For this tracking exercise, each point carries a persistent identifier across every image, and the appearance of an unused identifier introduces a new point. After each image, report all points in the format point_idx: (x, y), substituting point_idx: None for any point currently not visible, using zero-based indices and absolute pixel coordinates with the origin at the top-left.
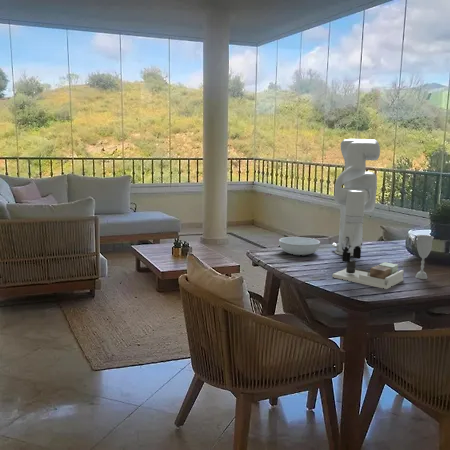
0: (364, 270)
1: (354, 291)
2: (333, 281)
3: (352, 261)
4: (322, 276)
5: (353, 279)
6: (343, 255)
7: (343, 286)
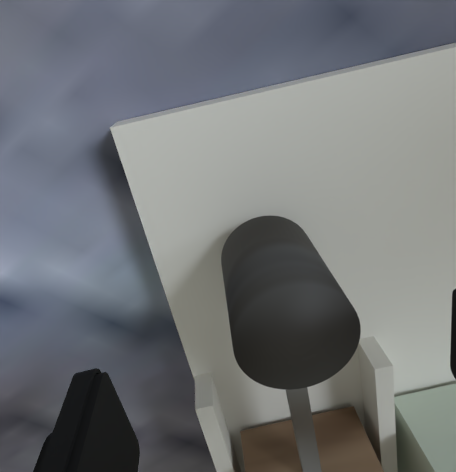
0: (291, 416)
1: (8, 452)
2: (25, 226)
3: (279, 368)
4: (34, 24)
5: (181, 331)
6: (51, 468)
7: (11, 356)
